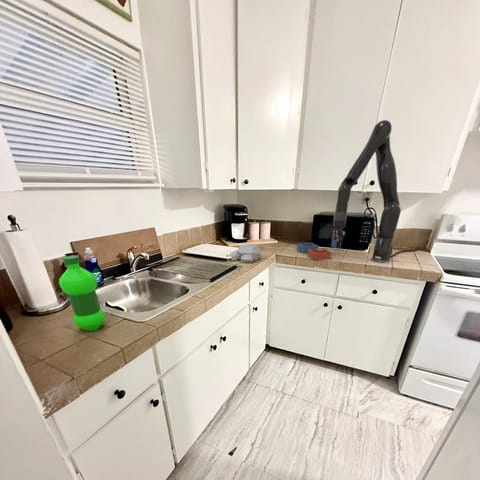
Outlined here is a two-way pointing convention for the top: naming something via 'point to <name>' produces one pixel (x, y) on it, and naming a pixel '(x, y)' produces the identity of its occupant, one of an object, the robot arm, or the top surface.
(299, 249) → the blue bin
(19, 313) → the top surface
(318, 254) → the red bin
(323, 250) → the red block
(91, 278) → the plastic bottle
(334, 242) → the blue block
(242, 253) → the rock
